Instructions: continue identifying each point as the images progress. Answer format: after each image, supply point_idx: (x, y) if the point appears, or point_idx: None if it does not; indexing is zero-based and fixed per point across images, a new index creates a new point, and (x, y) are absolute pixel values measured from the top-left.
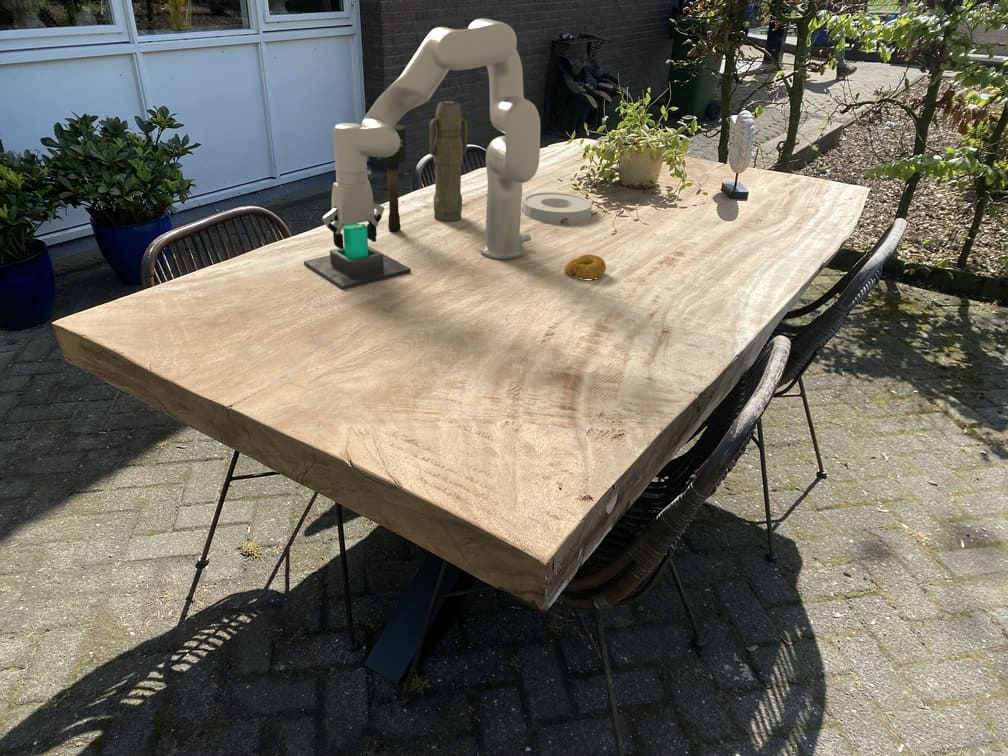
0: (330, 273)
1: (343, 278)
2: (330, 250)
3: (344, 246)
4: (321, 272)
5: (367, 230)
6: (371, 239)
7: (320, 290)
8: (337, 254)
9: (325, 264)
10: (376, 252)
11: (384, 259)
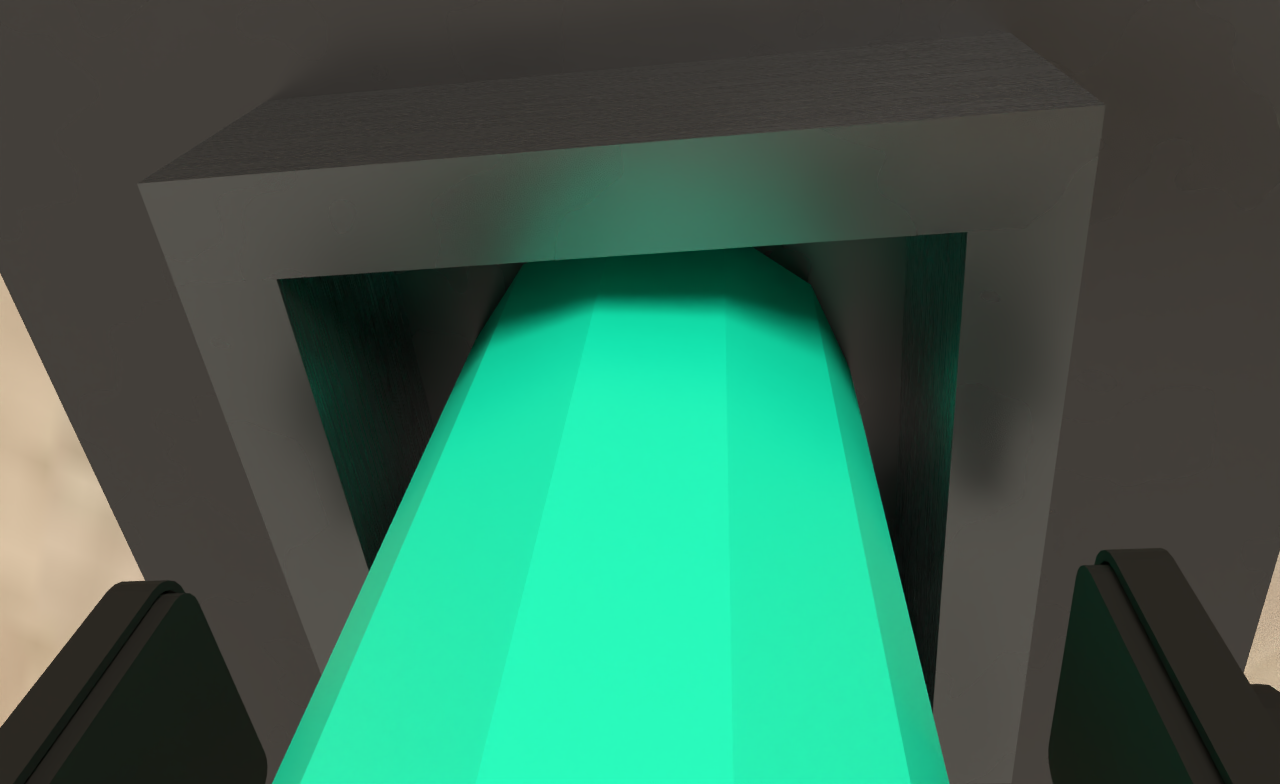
0: (178, 476)
1: (306, 669)
2: (155, 196)
3: (370, 571)
4: (55, 388)
5: (1171, 775)
6: (1066, 725)
7: (30, 677)
8: (255, 464)
9: (162, 116)
10: (968, 689)
11: (1187, 397)
